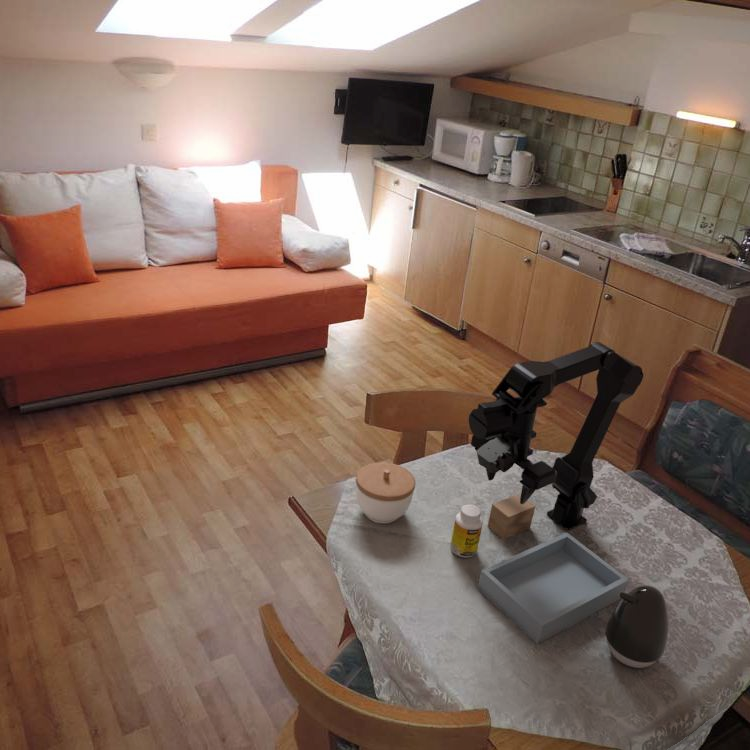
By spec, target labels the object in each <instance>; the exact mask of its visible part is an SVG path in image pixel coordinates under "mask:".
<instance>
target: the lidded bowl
mask: <svg viewBox="0 0 750 750" xmlns="http://www.w3.org/2000/svg"><path fill="white" fill-rule="evenodd" d="M415 489H416V479H415V477H414V475H413V474H412V472H410V470H408V469H407V468H405V467H403V466H401V465H399V464H397V463H392V462H385V461H381V462H372V463H369V464H366V465H364V466H363V467H360V468H359V470H358V471H357V473H356V477H355V497H356V502H357V504H358V507H359V509H360V510H361V512H362V513H363V514H364V515H365V516H366V517H367V519H369V521H372V522H374V523H377V524H391V523H392V522H395V521H396V520H397V519H400V518H401V517H402V516H403V515H404V514H405V513H406V512H407V511H408V510H409V507H410V506H411V503H412V501H413V496H414V491H415Z"/></svg>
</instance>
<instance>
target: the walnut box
mask: <svg viewBox="0 0 750 750" xmlns="http://www.w3.org/2000/svg"><path fill="white" fill-rule="evenodd" d="M520 497H521V493H518V494H514V495H512V496H510V497H507V498H505V499H501V500H499V501H496V502H494V503H492V504H491V508H490V514H489V519H488V521H487V523H488V524H487V527H488V528H489V529H490V530H491V531H493V532H494V533H495V534H496V535H498V537H500V538H502V539H503V540H506V539H508V538H510V537H513V536H515V535H517V534H520V533H523V532H524V531H526V530H528V529H531V527H532V526H531V525H532V521H533V517H534V513H535V509H536V505H534V504H533V503H532V502H531V501H529V499H528V500H527V501H526V502H525V503H524V504H520Z"/></svg>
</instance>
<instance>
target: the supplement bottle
mask: <svg viewBox="0 0 750 750" xmlns="http://www.w3.org/2000/svg"><path fill="white" fill-rule="evenodd" d="M481 513H482V511H481V509H480V508H479V506H476V505H474V504H464V505H463V506H462V507H461V509H460V512H458V513H457V514H456V516H455V519H454V524H453V530H452V535H451V541H450V549H451V552H452V553H453V554H454V555H456V556H458V557H460V558H467V559H468V558H472V557H474V556H475V555H476V554H477V552H478V548H479V543H480V539H481V538H480V537H481V534H482V528H483V524H484V521H483V517H481Z"/></svg>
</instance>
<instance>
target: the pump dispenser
mask: <svg viewBox="0 0 750 750" xmlns="http://www.w3.org/2000/svg"><path fill="white" fill-rule="evenodd" d="M619 596H620V598H621V600H620V602H619V603H618V604H617V606H615V608H614V610H613V611H612V613H611V615H610V617H609V619H608V621H607V622H606V625H605V629H604V630H605V631H604V633H605V637H606V638H605V639H606V643H607V646H608V649H609V651H610V653H611V654H612V655H613V657H614V658H615V659H616V660H617V661H618V662H620V663H622V664H623V665H626V666H628V667H631V668H636V669H637V668H638V669H642V668H647V667H649V666H651V665H653V664H654V663H656V662H657V661H658V660H660V659H661V658H662V657H663V656H664V654H665V651H666V648H667V643H668V637H669V629H670V626H669V625H670V622H669V621H670V620H669V612H668V605H667V602H666V599H665V597H664V594H663V593H662V592H661V591H660V590H659V589H658V588H656V587H655V586H652V585H648V584H647V585H646V584H642V585H640V586H637V587H635V588H633V589H632V590H630V591H629V592H628V593H627V592H625V593H624V592H621V593H620V594H619Z"/></svg>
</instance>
